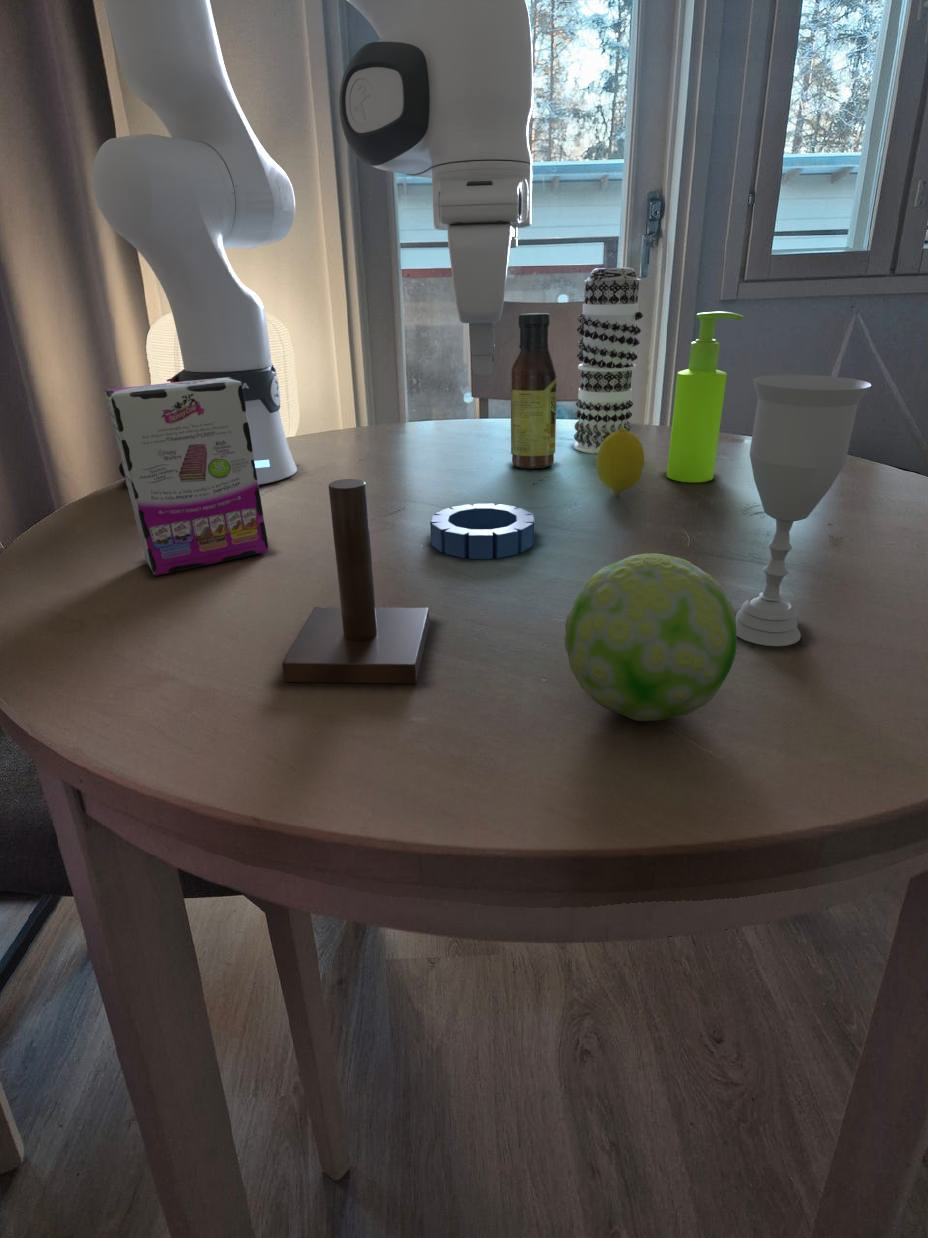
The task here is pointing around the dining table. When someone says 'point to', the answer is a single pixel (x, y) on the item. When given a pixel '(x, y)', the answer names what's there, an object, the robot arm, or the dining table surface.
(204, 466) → the candy bar box
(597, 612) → the decorative ball
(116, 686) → the dining table surface
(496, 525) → the bracelet
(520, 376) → the sauce bottle
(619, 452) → the lemon
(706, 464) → the soap dispenser
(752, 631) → the chalice
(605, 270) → the decorative candle
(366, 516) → the stand
